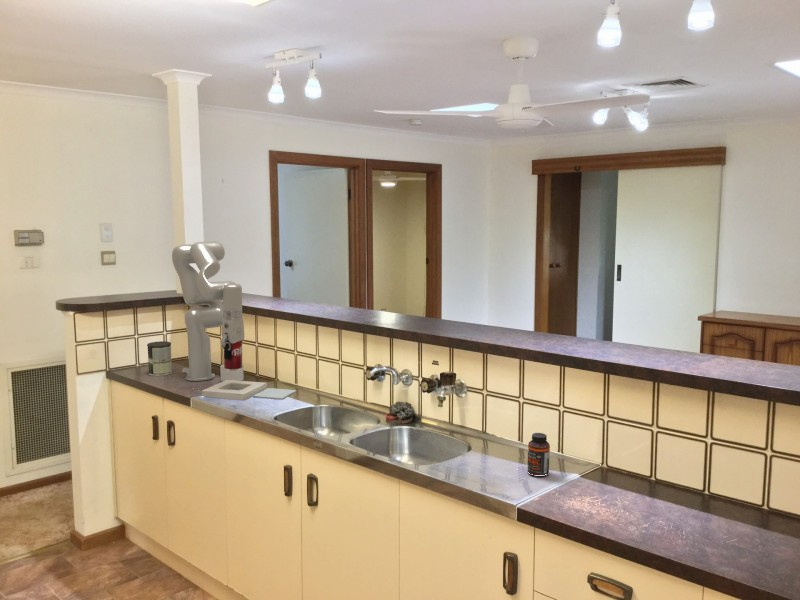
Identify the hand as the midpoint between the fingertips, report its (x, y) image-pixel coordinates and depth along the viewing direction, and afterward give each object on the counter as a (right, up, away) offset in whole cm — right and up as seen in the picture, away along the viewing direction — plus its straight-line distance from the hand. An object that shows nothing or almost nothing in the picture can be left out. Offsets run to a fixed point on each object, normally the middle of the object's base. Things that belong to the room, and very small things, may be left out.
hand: (233, 356), depth 276 cm
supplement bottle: (+107, -26, -87) cm, 140 cm away
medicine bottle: (-6, -12, +22) cm, 26 cm away
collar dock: (+1, -15, +1) cm, 15 cm away
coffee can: (-42, -11, +35) cm, 56 cm away
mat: (+18, -15, -2) cm, 23 cm away
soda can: (0, -5, +1) cm, 5 cm away
